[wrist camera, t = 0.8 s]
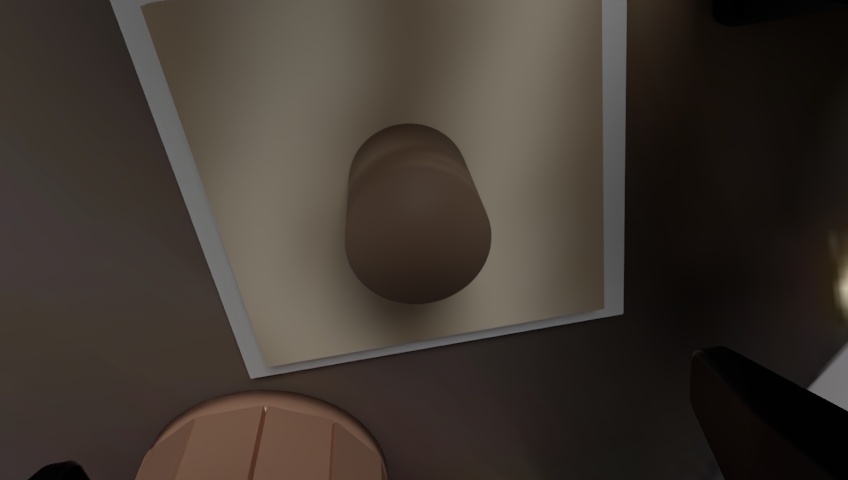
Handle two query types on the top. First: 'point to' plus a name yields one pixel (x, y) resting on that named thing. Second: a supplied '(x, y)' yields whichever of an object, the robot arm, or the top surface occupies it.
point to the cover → (394, 161)
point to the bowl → (264, 441)
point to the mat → (189, 181)
